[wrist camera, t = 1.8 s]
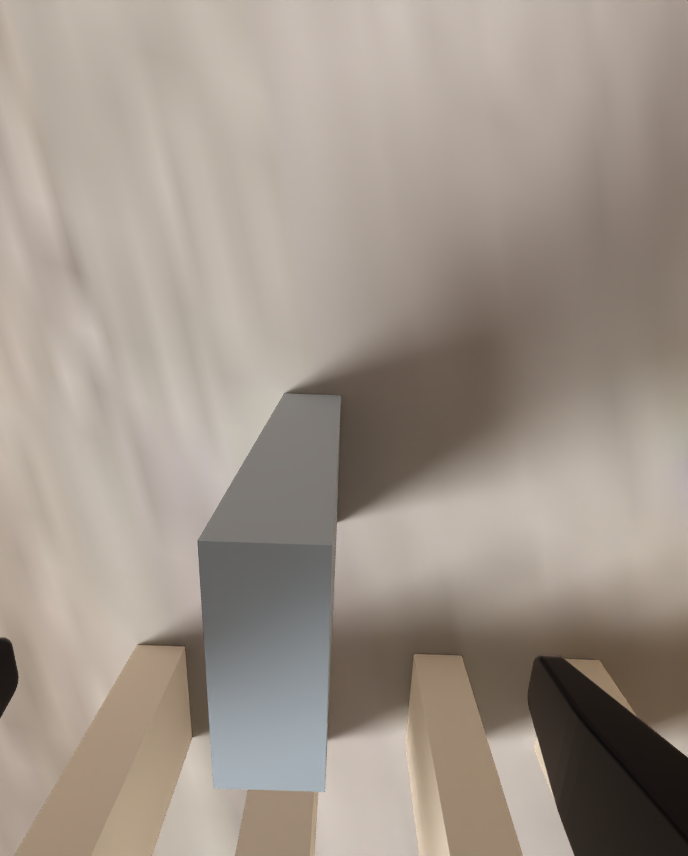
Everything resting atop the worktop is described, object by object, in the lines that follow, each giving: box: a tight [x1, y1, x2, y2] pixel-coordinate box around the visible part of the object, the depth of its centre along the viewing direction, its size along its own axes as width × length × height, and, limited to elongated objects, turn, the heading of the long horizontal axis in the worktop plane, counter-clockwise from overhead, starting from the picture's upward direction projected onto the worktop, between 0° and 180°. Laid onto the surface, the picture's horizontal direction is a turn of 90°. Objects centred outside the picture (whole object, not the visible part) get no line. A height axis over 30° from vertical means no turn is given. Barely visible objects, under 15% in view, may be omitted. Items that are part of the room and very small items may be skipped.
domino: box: [198, 393, 341, 792], centre depth 12 cm, size 2×5×10 cm, turn 178°
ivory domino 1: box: [14, 645, 192, 856], centre depth 16 cm, size 2×5×10 cm, turn 178°
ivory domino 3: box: [405, 654, 523, 856], centre depth 16 cm, size 2×5×10 cm, turn 178°
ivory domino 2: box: [235, 790, 318, 856], centre depth 16 cm, size 2×5×10 cm, turn 178°
